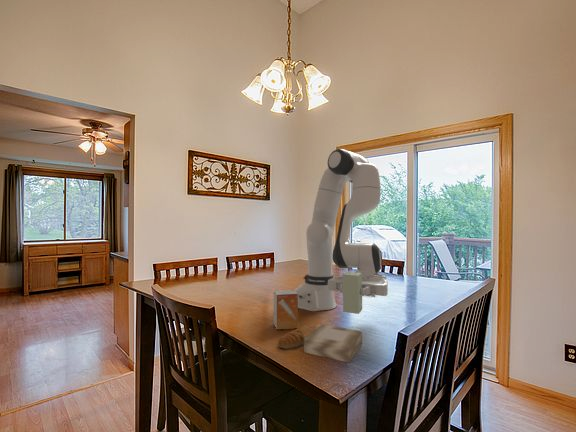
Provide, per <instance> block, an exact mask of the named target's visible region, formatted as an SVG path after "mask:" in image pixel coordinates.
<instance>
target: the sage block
mask: <svg viewBox="0 0 576 432" xmlns="http://www.w3.org/2000/svg"><path fill="white" fill-rule="evenodd" d="M342 277H343V293H342V312H343V313H349V314H357V315H359V314H360V313H361V312H362V311H363V296H362V295H360V288H362V273H356V271H352V272H351V271H346V272H344V273H343V274H342Z"/></svg>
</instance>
